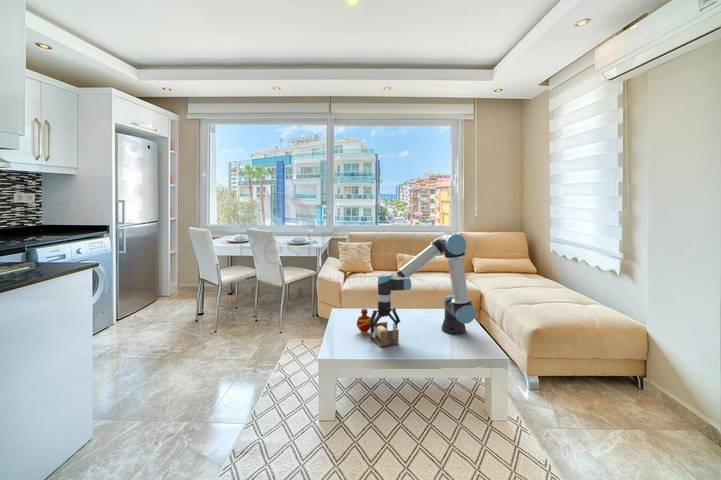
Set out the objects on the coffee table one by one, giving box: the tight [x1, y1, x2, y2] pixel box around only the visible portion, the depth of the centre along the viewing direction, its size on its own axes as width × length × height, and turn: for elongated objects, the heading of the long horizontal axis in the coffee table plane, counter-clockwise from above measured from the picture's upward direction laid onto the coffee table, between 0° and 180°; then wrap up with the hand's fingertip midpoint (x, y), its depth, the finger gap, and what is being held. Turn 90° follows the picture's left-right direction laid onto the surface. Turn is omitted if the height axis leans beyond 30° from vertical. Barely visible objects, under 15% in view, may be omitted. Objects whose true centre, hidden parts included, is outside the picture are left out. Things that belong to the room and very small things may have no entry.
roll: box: [375, 326, 390, 339], centre depth 205 cm, size 7×12×7 cm, turn 22°
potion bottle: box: [356, 308, 371, 335], centre depth 220 cm, size 10×10×15 cm
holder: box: [369, 321, 399, 349], centre depth 205 cm, size 11×16×9 cm
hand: (384, 335), depth 205 cm, fingers open, 13 cm apart
